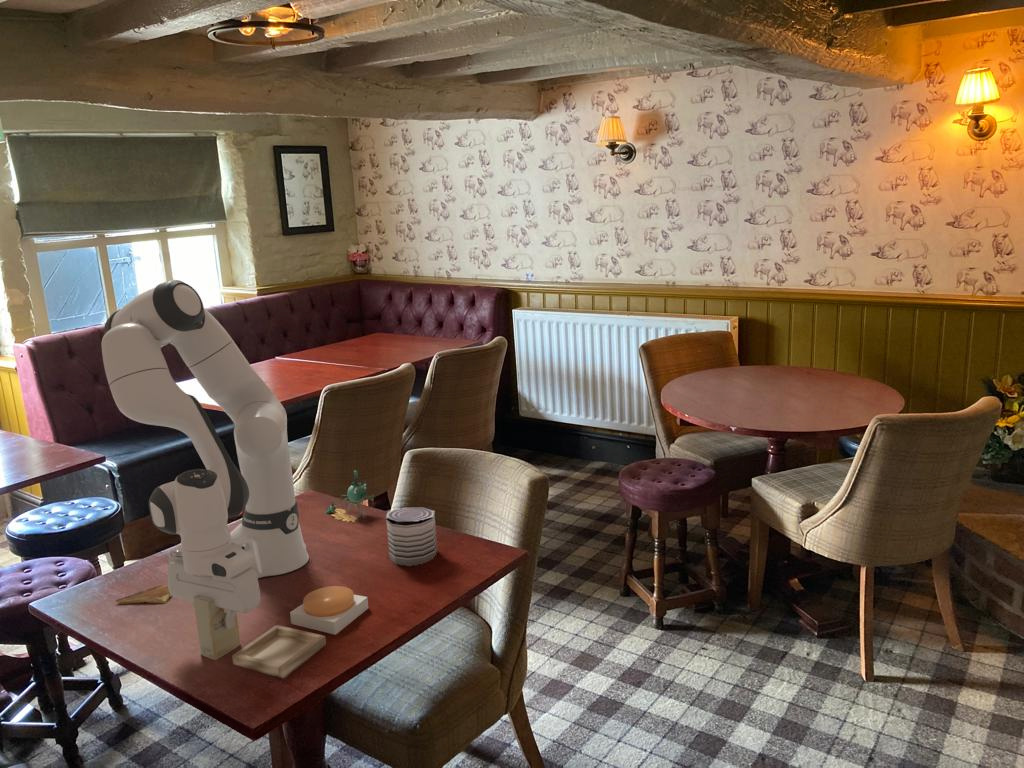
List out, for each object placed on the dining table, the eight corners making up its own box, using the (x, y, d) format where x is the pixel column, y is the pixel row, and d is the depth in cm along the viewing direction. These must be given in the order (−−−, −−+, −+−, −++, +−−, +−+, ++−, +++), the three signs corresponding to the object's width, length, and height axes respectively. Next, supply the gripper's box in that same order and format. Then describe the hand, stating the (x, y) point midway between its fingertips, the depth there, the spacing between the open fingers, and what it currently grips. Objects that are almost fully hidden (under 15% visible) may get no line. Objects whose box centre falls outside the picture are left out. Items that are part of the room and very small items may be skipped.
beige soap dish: (233, 665, 152) (232, 655, 151) (277, 633, 162) (276, 624, 162) (283, 678, 147) (282, 668, 146) (326, 645, 157) (325, 636, 157)
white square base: (291, 626, 165) (289, 612, 164) (326, 601, 175) (324, 588, 174) (335, 636, 160) (334, 622, 160) (368, 610, 170) (367, 597, 169)
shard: (116, 606, 176) (115, 599, 175) (133, 590, 183) (133, 583, 183) (165, 607, 175) (164, 599, 175) (181, 590, 183) (180, 583, 182)
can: (379, 562, 193) (375, 514, 190) (415, 546, 201) (411, 499, 199) (412, 574, 186) (408, 525, 183) (448, 557, 194) (444, 509, 191)
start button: (293, 611, 165) (292, 604, 164) (325, 589, 173) (324, 582, 173) (333, 620, 160) (332, 612, 160) (363, 597, 169) (363, 590, 169)
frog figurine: (339, 510, 228) (344, 459, 225) (390, 529, 219) (396, 477, 216) (315, 518, 219) (320, 465, 216) (367, 539, 211) (373, 484, 208)
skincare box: (215, 661, 153) (207, 602, 151) (200, 656, 156) (191, 597, 153) (242, 645, 159) (234, 587, 156) (226, 640, 161) (218, 583, 158)
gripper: (154, 555, 155) (165, 622, 158) (236, 571, 146) (245, 642, 149) (181, 542, 160) (190, 607, 163) (261, 557, 151) (269, 625, 154)
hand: (217, 624), depth 156 cm, fingers closed on skincare box, 4 cm apart
